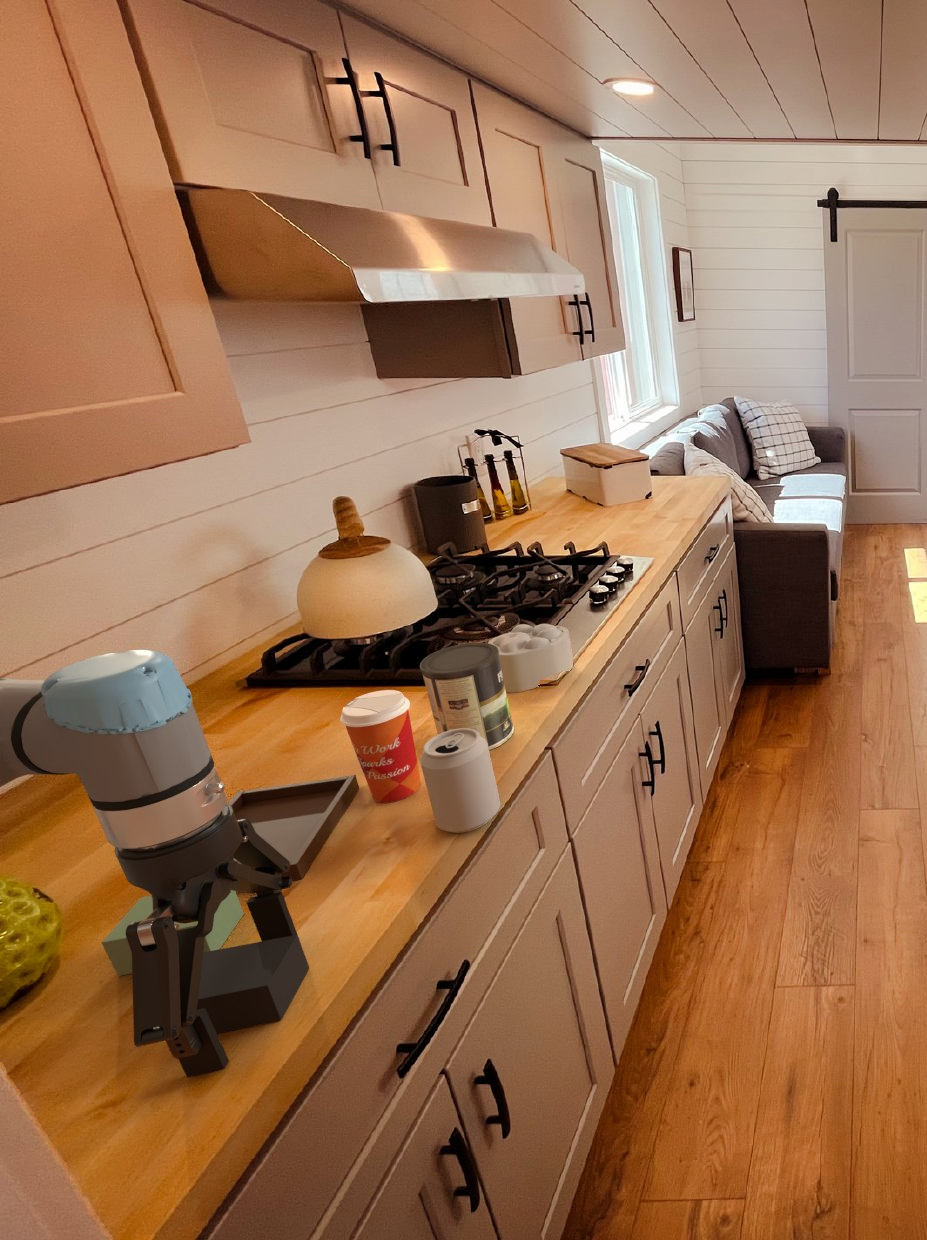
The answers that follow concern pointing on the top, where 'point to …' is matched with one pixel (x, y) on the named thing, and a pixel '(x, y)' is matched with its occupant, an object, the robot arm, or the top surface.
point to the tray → (296, 816)
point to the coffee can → (468, 691)
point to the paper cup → (384, 743)
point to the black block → (251, 982)
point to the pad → (222, 924)
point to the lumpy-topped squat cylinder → (532, 655)
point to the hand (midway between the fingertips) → (248, 1002)
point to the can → (460, 780)
